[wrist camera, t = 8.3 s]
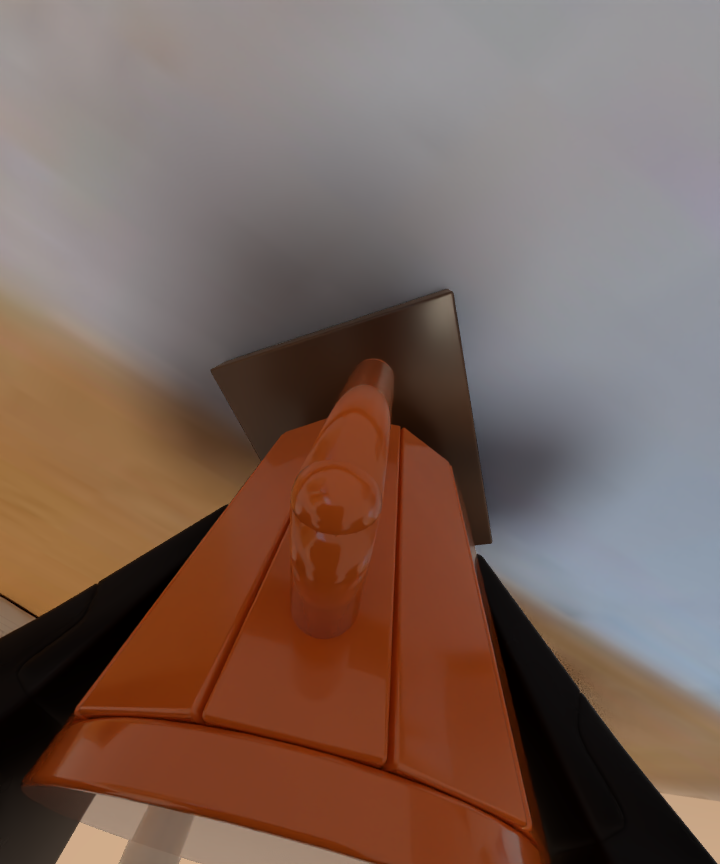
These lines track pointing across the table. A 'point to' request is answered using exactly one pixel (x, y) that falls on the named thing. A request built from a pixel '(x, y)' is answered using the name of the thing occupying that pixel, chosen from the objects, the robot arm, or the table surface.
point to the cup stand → (331, 368)
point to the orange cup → (313, 674)
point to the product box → (12, 617)
